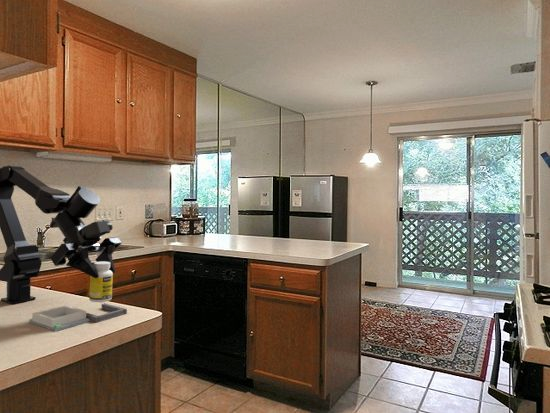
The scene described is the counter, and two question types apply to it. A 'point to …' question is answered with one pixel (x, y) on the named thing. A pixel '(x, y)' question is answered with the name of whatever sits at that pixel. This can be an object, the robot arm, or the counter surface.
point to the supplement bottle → (101, 283)
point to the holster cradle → (116, 311)
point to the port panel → (59, 317)
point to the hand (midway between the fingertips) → (105, 275)
